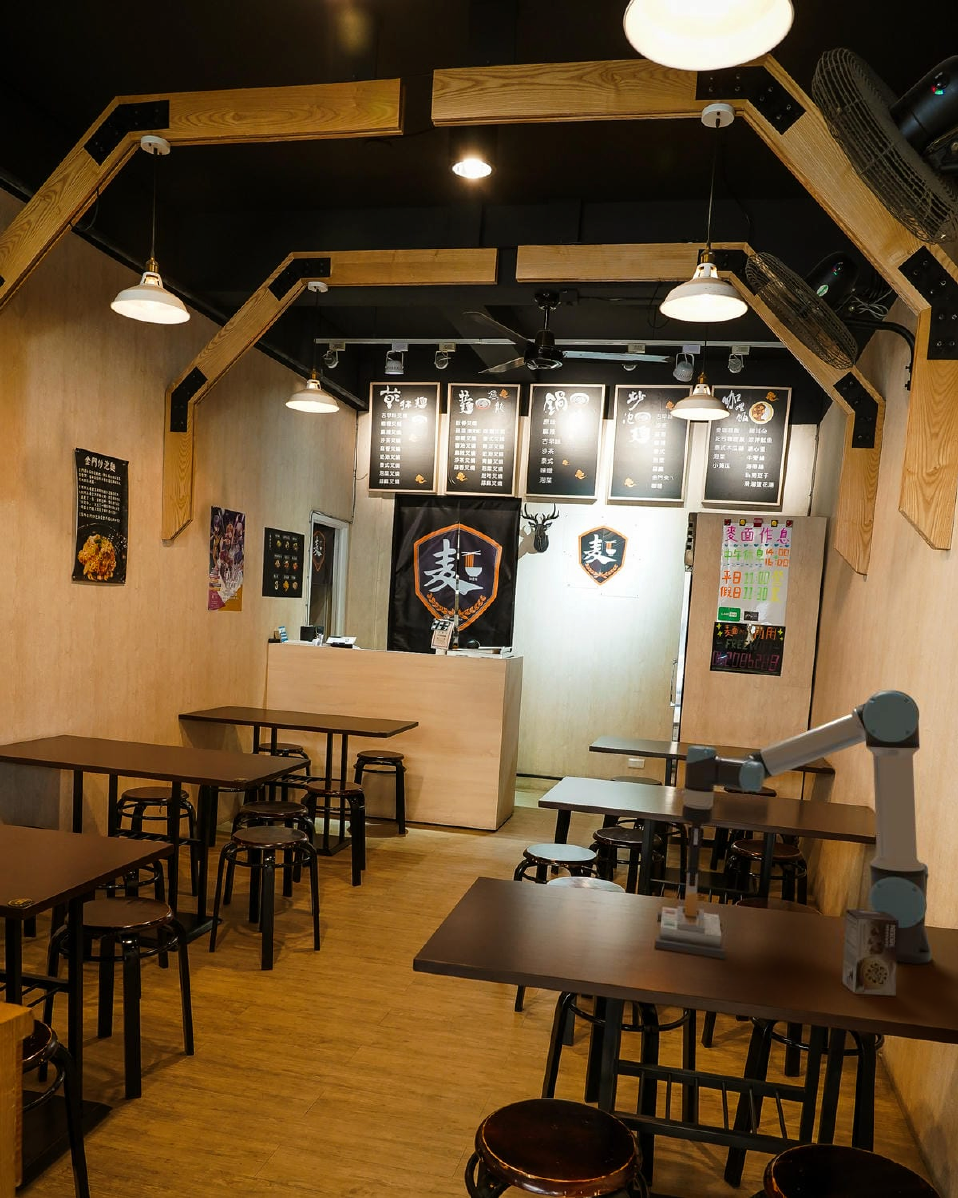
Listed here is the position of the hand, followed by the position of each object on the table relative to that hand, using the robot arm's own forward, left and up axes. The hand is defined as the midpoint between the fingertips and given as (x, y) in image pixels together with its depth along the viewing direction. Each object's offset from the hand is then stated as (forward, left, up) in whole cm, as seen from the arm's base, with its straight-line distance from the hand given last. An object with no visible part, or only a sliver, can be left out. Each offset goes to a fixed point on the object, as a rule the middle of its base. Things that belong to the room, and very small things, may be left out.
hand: (690, 897), depth 231 cm
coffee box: (-38, +30, -7) cm, 48 cm away
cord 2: (0, +24, -7) cm, 24 cm away
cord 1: (0, +1, -7) cm, 7 cm away
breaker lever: (0, +8, -2) cm, 8 cm away
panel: (0, +12, -7) cm, 14 cm away
